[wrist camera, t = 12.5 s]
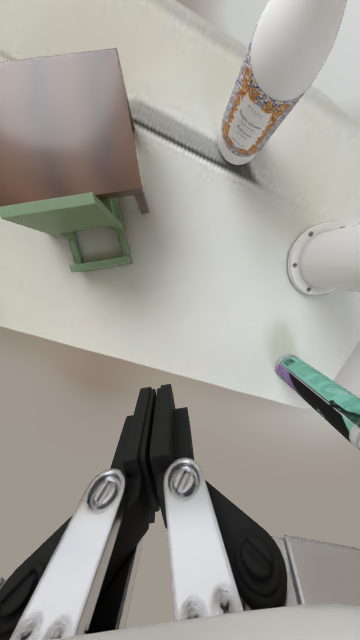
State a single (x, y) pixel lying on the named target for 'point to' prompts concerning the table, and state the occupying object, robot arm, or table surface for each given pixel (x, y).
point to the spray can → (323, 396)
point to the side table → (66, 129)
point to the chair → (72, 222)
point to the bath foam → (277, 72)
